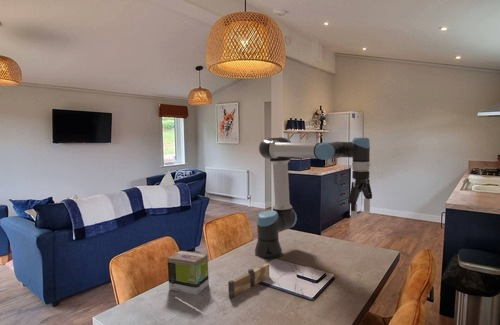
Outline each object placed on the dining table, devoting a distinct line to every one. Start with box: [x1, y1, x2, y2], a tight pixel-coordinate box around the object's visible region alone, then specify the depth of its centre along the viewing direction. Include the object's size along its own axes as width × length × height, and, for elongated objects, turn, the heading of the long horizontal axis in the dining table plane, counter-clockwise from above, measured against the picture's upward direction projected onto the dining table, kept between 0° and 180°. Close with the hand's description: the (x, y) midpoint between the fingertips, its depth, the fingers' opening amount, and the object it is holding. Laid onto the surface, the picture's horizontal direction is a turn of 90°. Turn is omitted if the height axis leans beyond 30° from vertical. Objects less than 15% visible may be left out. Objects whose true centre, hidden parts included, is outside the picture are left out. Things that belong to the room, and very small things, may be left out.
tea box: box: [167, 250, 210, 296], centre depth 136 cm, size 15×10×15 cm, turn 65°
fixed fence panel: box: [227, 272, 252, 299], centre depth 130 cm, size 2×12×7 cm, turn 137°
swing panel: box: [247, 262, 270, 288], centre depth 139 cm, size 13×2×7 cm, turn 137°
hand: (360, 214), depth 146 cm, fingers open, 13 cm apart
